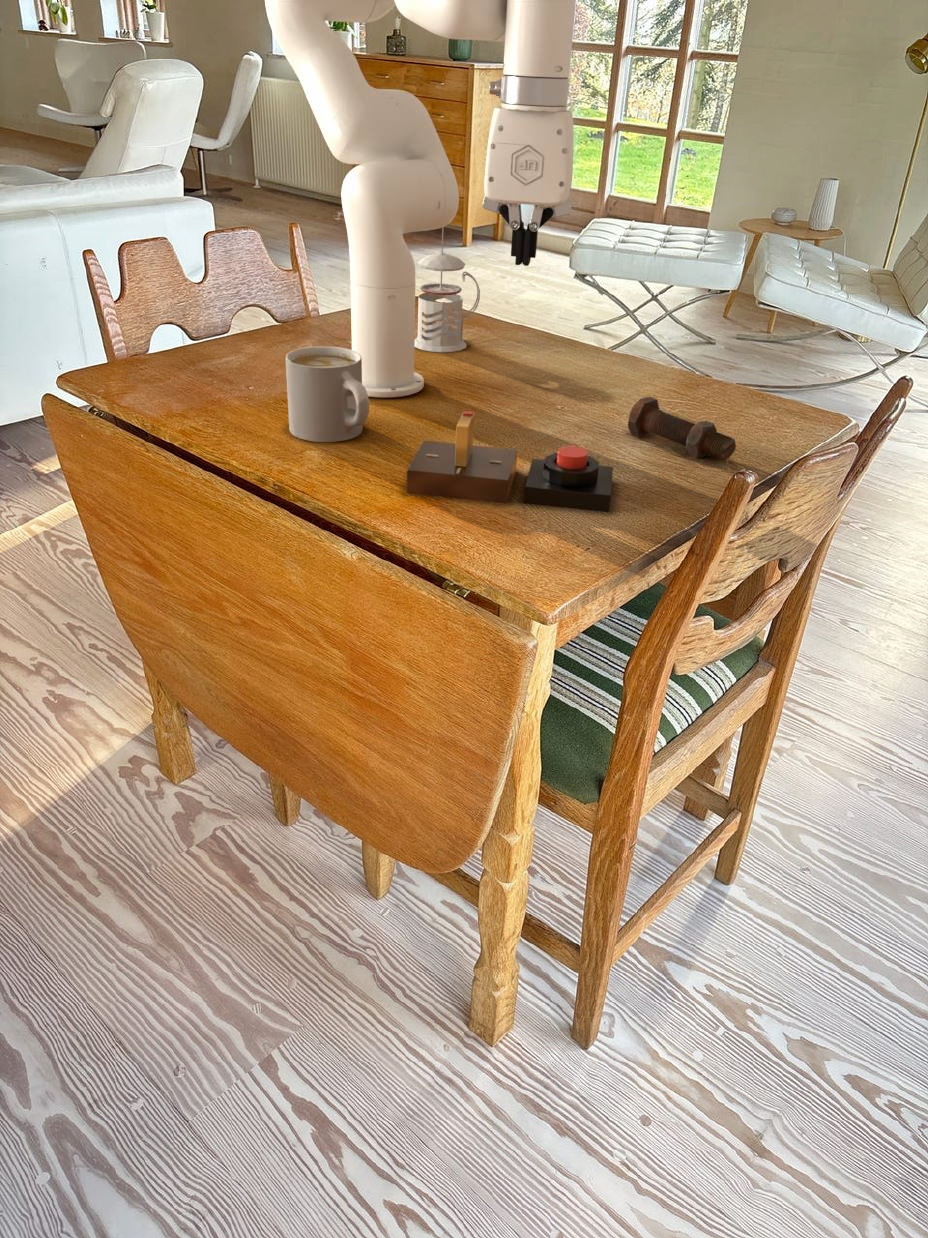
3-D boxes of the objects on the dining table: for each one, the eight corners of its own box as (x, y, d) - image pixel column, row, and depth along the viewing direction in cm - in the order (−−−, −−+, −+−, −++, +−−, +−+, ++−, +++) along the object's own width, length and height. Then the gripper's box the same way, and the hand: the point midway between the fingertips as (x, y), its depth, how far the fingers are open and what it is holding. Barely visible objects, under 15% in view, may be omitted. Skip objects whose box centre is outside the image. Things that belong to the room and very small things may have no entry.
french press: (409, 336, 173) (412, 186, 160) (473, 337, 175) (480, 188, 162) (413, 351, 165) (416, 194, 152) (480, 352, 166) (488, 197, 153)
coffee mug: (277, 423, 132) (273, 351, 127) (342, 412, 137) (340, 342, 132) (320, 455, 123) (317, 379, 118) (387, 443, 128) (388, 369, 122)
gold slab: (466, 467, 114) (468, 424, 111) (454, 465, 114) (456, 423, 111) (472, 452, 118) (474, 411, 115) (461, 450, 118) (463, 409, 115)
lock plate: (406, 493, 114) (406, 468, 112) (422, 462, 122) (423, 438, 121) (506, 503, 112) (508, 478, 111) (515, 471, 121) (517, 448, 119)
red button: (555, 469, 113) (556, 455, 112) (557, 458, 116) (558, 444, 115) (585, 472, 112) (587, 458, 111) (587, 461, 115) (588, 447, 114)
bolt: (720, 478, 126) (631, 441, 135) (743, 453, 128) (653, 418, 137) (716, 447, 122) (624, 411, 131) (739, 421, 123) (646, 388, 132)
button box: (523, 503, 113) (526, 472, 111) (531, 474, 120) (533, 444, 118) (608, 512, 112) (612, 480, 109) (610, 482, 119) (614, 452, 117)
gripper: (464, 92, 107) (458, 264, 116) (599, 100, 105) (581, 274, 115) (474, 90, 113) (468, 253, 123) (601, 97, 111) (584, 262, 121)
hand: (522, 262), depth 119 cm, fingers closed
